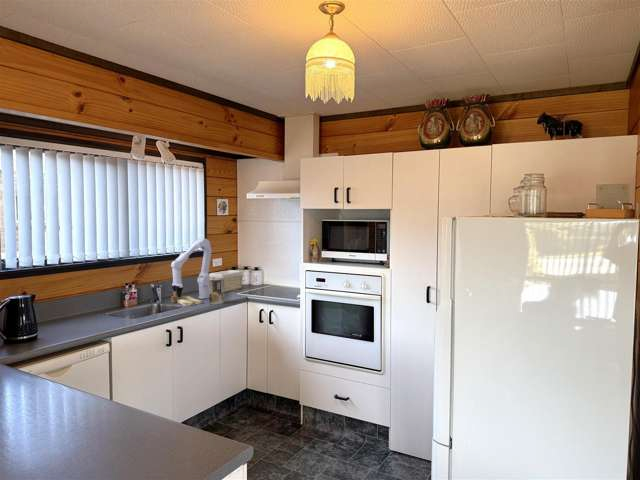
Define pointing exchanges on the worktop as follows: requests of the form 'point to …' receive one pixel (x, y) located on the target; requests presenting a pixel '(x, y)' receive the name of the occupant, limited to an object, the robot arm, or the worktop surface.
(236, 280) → the storage basket
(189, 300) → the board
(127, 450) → the worktop surface
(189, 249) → the robot arm
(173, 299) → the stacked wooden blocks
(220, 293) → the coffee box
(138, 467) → the worktop surface
